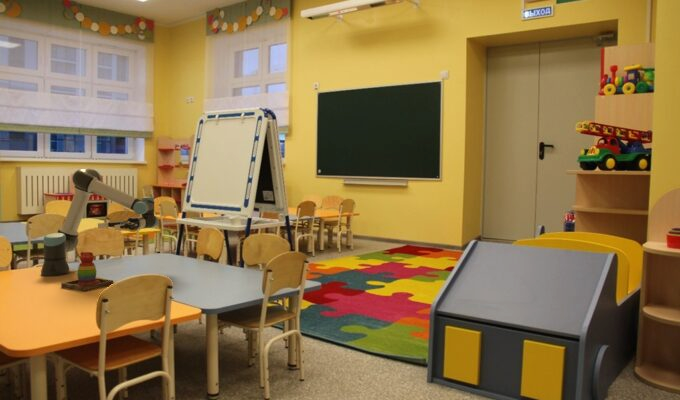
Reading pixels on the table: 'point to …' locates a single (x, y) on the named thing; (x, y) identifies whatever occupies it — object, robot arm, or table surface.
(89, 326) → the table surface
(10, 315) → the table surface
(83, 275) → the stacking bear
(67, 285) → the dark brown square tray
